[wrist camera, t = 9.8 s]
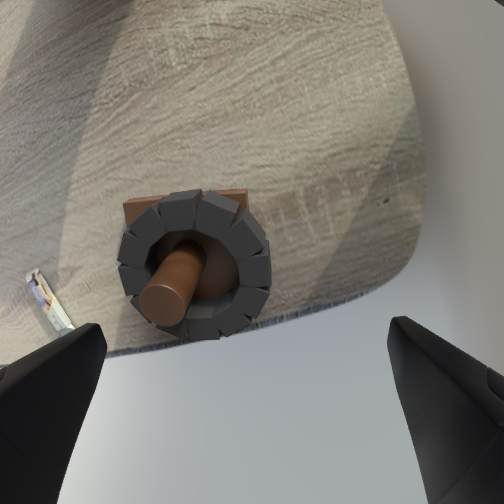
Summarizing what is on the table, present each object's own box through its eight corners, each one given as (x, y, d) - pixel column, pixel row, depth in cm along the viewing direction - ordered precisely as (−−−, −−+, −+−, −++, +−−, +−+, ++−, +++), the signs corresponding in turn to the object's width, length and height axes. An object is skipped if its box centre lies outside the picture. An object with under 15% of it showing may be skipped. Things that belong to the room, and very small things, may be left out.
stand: (247, 188, 20) (235, 221, 13) (255, 300, 23) (249, 368, 16) (129, 198, 20) (73, 233, 14) (150, 301, 23) (114, 363, 17)
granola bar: (79, 328, 25) (74, 335, 24) (64, 333, 25) (59, 340, 24) (40, 264, 23) (33, 269, 22) (26, 272, 23) (19, 277, 22)
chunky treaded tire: (262, 181, 18) (261, 189, 16) (276, 315, 22) (276, 336, 20) (119, 201, 19) (102, 211, 17) (151, 321, 23) (140, 341, 20)
